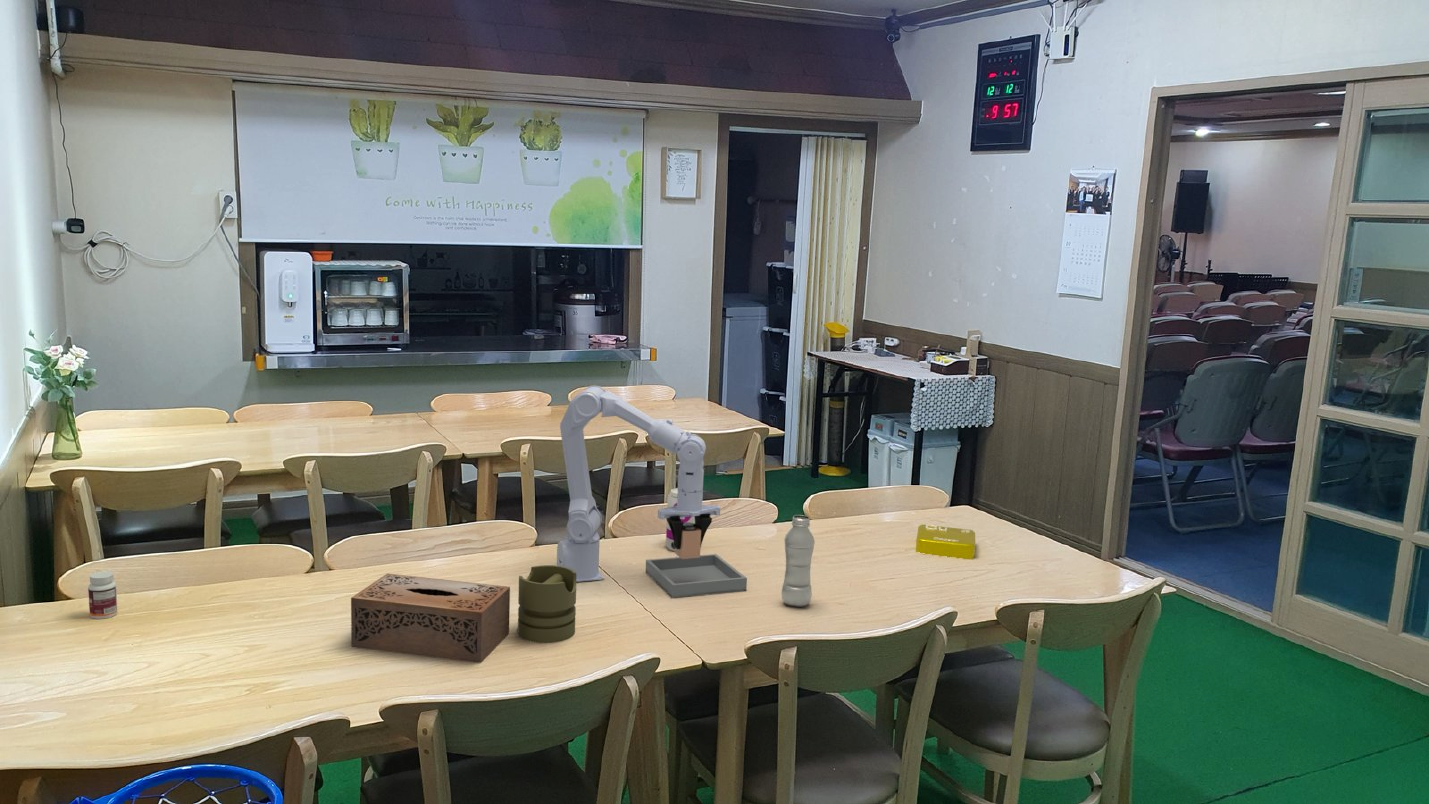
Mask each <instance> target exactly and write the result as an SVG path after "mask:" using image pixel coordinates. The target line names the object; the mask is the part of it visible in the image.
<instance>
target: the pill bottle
mask: <svg viewBox="0 0 1429 804" xmlns="http://www.w3.org/2000/svg"><path fill="white" fill-rule="evenodd" d="M114 576H115V575H114V572H112V571H109V570H105V571H97V572H93V573H91V574H90V575H89V582H90V584H89V585H88V589H87V591H88V592H87V593H88V605H89V606H88V607H89V609H88V610H89V617H90V618H91V619H94V620H95V619H96V620H97V619H98V620H103V619H104V620H105V619H109V618H112V617H114V616H116V615H117V614H118V599H117V598H118V597H117V596H118V595H117V591H118V590H117V584H116V582H115V581H114V579H115V578H114Z"/></svg>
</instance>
